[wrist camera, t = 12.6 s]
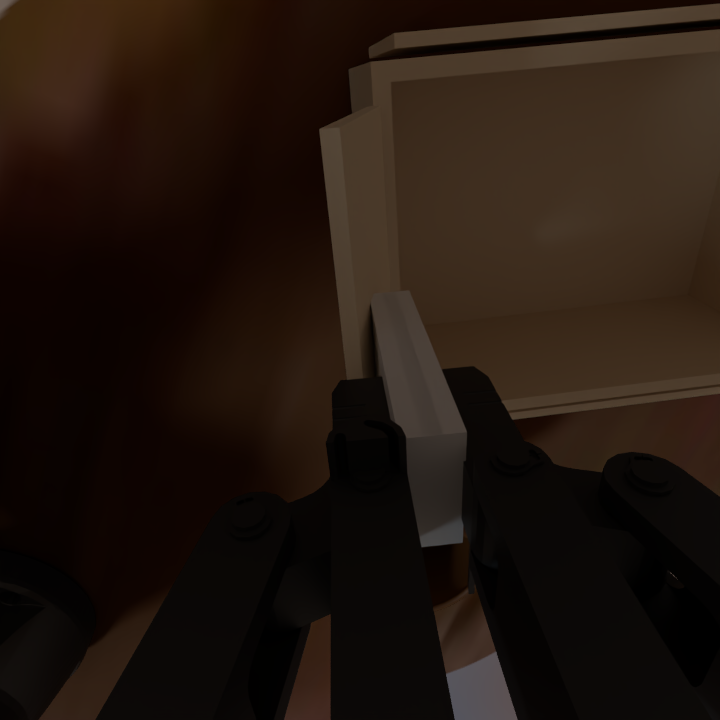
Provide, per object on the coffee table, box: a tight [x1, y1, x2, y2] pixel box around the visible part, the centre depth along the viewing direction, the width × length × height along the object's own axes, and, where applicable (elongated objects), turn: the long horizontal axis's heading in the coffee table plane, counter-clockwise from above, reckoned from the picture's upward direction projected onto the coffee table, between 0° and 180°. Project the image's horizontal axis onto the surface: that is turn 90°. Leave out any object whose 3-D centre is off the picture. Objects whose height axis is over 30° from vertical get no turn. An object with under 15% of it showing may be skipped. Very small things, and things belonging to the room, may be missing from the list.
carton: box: [348, 4, 720, 420], centre depth 23 cm, size 20×15×9 cm
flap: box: [319, 106, 391, 380], centre depth 15 cm, size 7×12×1 cm
